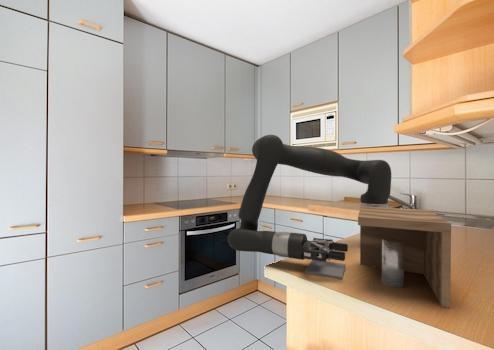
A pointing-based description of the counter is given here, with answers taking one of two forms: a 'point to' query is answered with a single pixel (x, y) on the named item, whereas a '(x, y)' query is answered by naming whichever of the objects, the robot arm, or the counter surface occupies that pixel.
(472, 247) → the counter surface
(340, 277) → the rubber mat
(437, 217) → the walnut desk
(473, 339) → the counter surface
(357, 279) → the counter surface
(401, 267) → the steel tin
